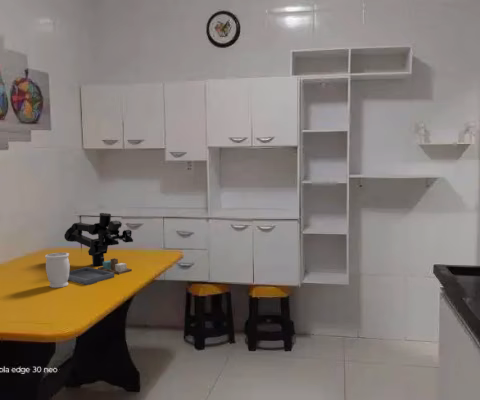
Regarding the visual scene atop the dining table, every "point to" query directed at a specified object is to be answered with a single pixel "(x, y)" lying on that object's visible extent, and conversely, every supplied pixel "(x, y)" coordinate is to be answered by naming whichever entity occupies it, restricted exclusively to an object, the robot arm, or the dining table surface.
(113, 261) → the caddy
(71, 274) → the tray
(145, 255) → the dining table surface
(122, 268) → the cream block
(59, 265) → the jar
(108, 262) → the teal block
